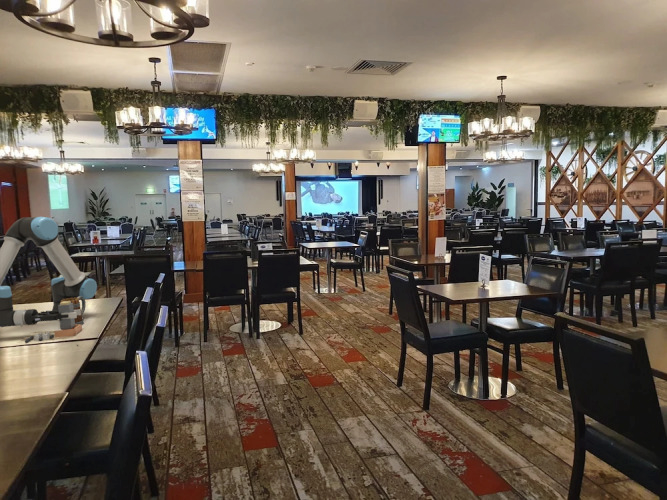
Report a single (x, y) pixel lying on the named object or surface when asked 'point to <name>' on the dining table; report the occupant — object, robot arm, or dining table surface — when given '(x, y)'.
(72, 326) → the grey tall block
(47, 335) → the cable clips
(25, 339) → the board
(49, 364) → the dining table surface
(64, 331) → the end holder
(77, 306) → the mug
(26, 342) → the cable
